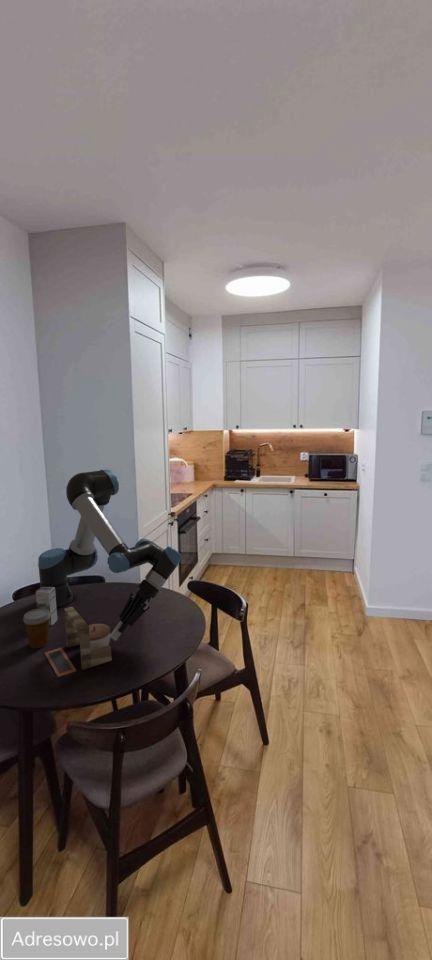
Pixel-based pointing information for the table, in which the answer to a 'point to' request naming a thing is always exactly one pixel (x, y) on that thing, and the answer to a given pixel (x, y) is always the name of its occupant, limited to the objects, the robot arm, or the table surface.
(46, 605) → the syrup box
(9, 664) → the table surface
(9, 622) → the table surface
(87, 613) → the table surface
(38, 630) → the disposable coffee cup
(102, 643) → the lidded jar
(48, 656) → the framed chalkboard
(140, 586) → the robot arm
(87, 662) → the tunnel
